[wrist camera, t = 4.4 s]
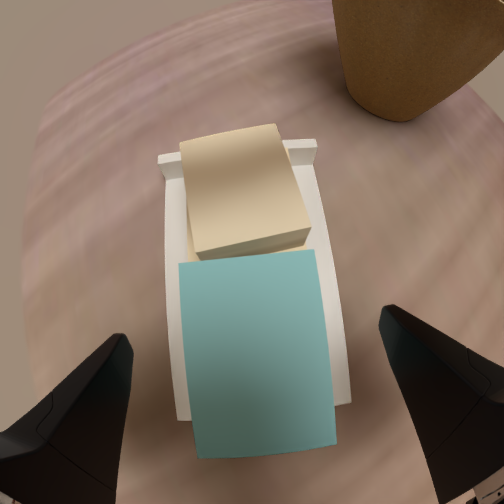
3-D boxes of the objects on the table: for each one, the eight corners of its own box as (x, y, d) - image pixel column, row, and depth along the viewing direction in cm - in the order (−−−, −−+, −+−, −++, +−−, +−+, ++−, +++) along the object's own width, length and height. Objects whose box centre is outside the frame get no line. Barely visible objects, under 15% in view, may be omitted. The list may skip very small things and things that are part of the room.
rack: (348, 400, 15) (363, 409, 12) (180, 418, 15) (167, 429, 12) (309, 161, 20) (315, 138, 17) (168, 176, 20) (158, 155, 17)
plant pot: (288, 50, 24) (297, -85, 9) (409, 60, 24) (448, -44, 9) (332, 161, 20) (398, -53, 4) (472, 160, 20) (563, 47, 5)
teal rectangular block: (292, 388, 15) (336, 444, 6) (231, 394, 15) (197, 458, 6) (283, 301, 16) (314, 248, 7) (222, 307, 16) (178, 263, 7)
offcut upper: (303, 245, 15) (311, 226, 12) (205, 267, 14) (195, 252, 12) (273, 151, 16) (275, 123, 14) (189, 168, 16) (179, 142, 14)
